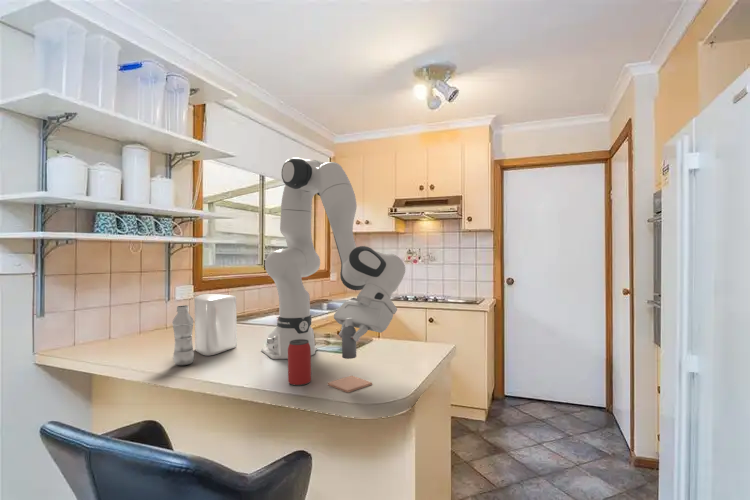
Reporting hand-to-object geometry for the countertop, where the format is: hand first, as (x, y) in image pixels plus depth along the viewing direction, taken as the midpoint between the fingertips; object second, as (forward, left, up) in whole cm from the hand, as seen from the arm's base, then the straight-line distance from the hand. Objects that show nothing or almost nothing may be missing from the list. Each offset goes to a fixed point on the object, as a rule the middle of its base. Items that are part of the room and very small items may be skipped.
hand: (347, 338), depth 114 cm
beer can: (-12, -8, -14) cm, 20 cm away
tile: (0, +1, -13) cm, 13 cm away
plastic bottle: (-56, -26, -14) cm, 63 cm away
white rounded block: (-69, -12, -14) cm, 71 cm away
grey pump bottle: (0, +1, -5) cm, 5 cm away
